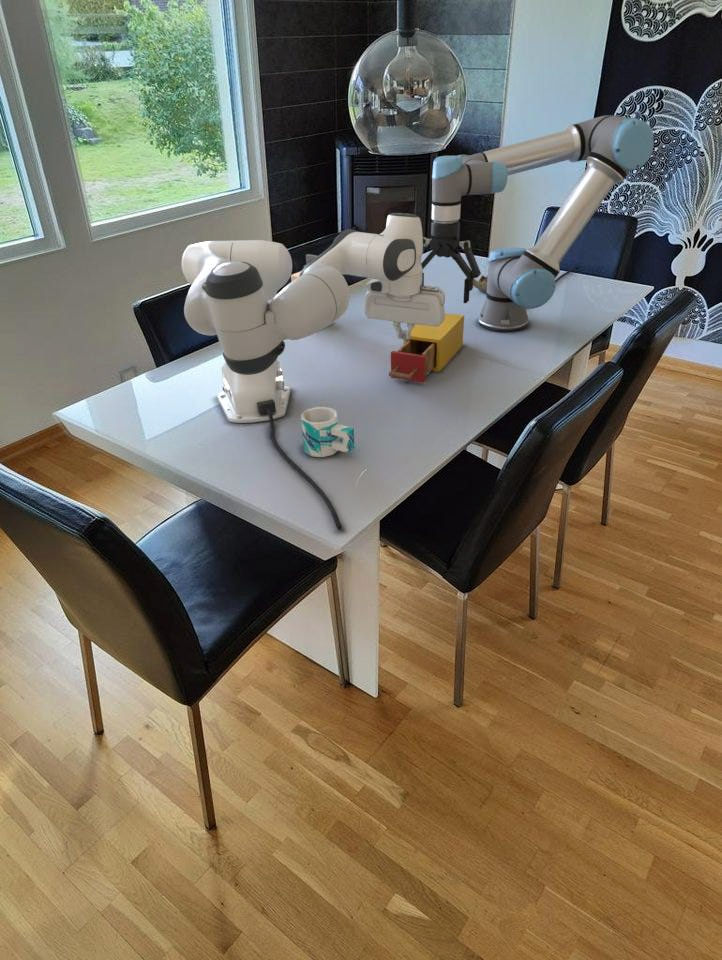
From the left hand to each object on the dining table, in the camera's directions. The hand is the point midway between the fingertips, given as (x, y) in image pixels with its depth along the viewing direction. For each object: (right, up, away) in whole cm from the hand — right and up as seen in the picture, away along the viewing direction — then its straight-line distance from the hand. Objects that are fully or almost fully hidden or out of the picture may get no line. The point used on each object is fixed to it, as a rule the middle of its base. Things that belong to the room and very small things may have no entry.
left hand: (404, 338), depth 168 cm
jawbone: (+35, +32, +72) cm, 86 cm away
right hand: (+12, +16, +21) cm, 29 cm away
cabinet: (+10, 0, +25) cm, 26 cm away
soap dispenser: (-25, +15, +49) cm, 57 cm away
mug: (-18, -29, -19) cm, 39 cm away
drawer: (+4, -6, +14) cm, 16 cm away
